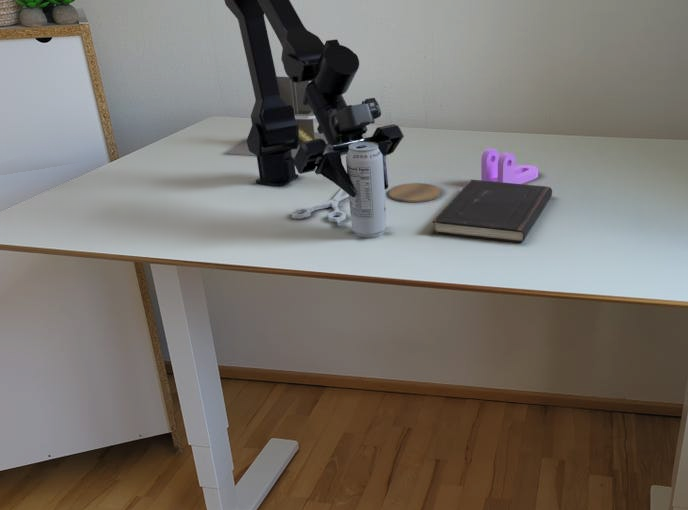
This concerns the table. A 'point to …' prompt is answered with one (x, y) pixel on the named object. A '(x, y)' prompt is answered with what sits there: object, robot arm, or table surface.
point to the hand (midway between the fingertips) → (370, 192)
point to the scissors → (329, 203)
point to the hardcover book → (493, 211)
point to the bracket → (505, 168)
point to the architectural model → (303, 114)
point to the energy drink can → (367, 189)
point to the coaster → (414, 192)
